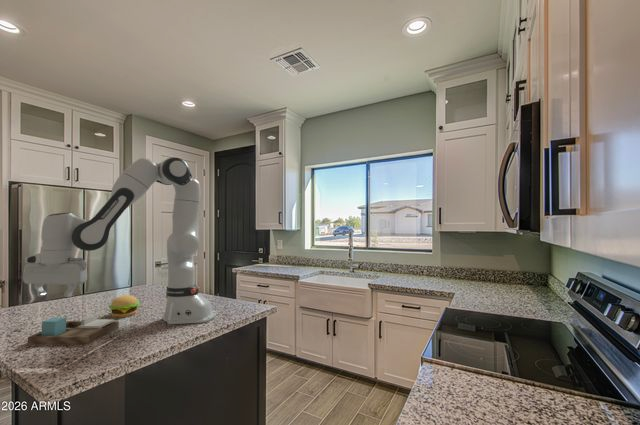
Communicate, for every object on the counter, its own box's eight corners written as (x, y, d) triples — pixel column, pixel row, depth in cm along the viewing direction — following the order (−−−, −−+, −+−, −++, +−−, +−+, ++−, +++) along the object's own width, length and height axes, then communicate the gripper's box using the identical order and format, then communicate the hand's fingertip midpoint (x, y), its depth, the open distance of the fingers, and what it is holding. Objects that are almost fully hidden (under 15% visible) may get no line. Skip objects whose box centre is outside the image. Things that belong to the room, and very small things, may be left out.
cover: (114, 321, 114) (114, 314, 114) (100, 328, 107) (100, 320, 107) (93, 321, 114) (94, 314, 114) (78, 328, 107) (78, 320, 107)
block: (65, 336, 105) (66, 317, 105) (54, 342, 101) (55, 321, 101) (52, 336, 105) (53, 317, 105) (41, 341, 100) (42, 321, 101)
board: (118, 330, 115) (118, 321, 115) (86, 347, 99) (86, 337, 99) (67, 329, 114) (68, 321, 115) (27, 347, 98) (27, 336, 99)
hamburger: (101, 317, 130) (102, 298, 130) (124, 309, 141) (124, 292, 142) (124, 319, 128) (125, 299, 128) (145, 311, 139) (146, 293, 140)
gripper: (92, 257, 107) (91, 294, 107) (37, 256, 107) (35, 293, 106) (78, 259, 101) (76, 299, 100) (19, 258, 101) (17, 298, 100)
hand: (54, 296), depth 103 cm, fingers open, 8 cm apart
